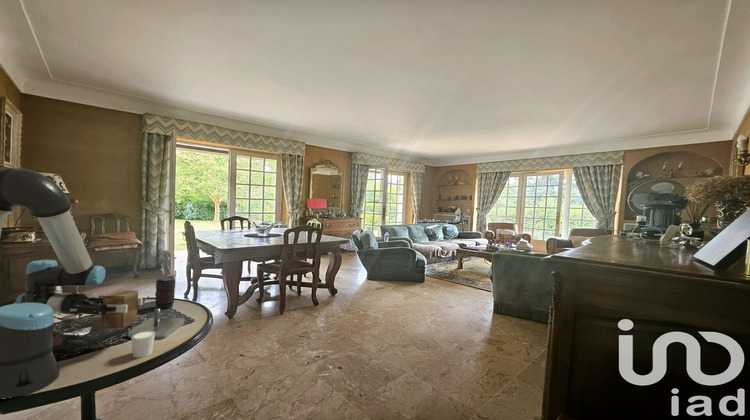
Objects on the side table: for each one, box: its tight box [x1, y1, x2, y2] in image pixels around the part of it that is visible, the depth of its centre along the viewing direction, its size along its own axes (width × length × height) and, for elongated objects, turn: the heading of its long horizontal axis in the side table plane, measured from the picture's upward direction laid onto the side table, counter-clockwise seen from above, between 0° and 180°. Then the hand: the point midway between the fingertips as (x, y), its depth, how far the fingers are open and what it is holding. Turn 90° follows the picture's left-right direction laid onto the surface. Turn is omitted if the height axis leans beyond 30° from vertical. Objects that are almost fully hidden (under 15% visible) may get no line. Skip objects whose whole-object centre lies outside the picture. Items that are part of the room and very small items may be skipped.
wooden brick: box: [100, 289, 139, 329], centre depth 112 cm, size 7×7×12 cm
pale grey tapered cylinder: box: [131, 331, 155, 359], centre depth 108 cm, size 7×7×7 cm
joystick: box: [127, 307, 185, 339], centre depth 126 cm, size 14×14×10 cm
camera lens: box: [154, 276, 176, 310], centre depth 151 cm, size 8×8×15 cm
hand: (134, 305), depth 113 cm, fingers closed on wooden brick, 7 cm apart
